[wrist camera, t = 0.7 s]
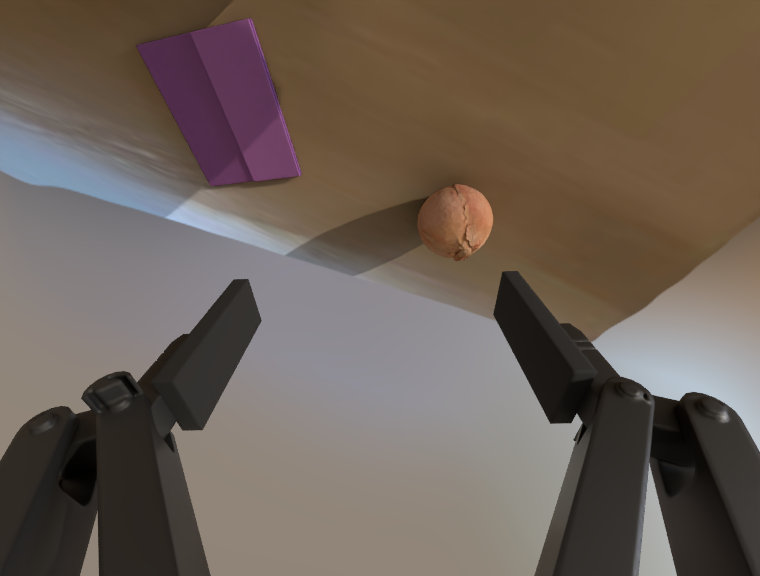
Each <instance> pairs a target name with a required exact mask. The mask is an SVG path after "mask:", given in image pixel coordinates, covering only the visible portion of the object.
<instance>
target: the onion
mask: <svg viewBox="0 0 760 576" xmlns="http://www.w3.org/2000/svg"><path fill="white" fill-rule="evenodd" d="M418 214H419V215H418V217H417V218H418V222H417V223H418V233H419V235H420V237H421V239H422V241H423V243H424V244H425V245H426V246H427V248H428V249H429V250H431V251H432V252H434V253H435V254H437V255H440V256H442V257H446V258H454V260H455V261H460V260H462V259H463V260H465V258H468V256H470V255H471V254H472V253H474V252H475V251H477V250H478V249H479V248H480V247H481V246H482V245H483V244H484V243H485V241H486V240H487V238H488V236H489V234H490V231H491V228H492V224H493V215H492V210H491V207H490V205H489V203H488V201H487V200H486V198H485V197H484V196H483V195H482V194H481V193H480V192H478V191H477V190H475V189H473V188H471V187H470V186H465V185H459V184H453V185H452V186H447V187H444V188H441V189H440V190H438V191H436V192H435V193H433V194H432V195H431V196H430V197H429V198H428V199H427V200H426V201H425V202H424V204H423V205H422V207H421V209H420V212H419V213H418Z"/></svg>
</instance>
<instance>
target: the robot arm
mask: <svg viewBox="0 0 760 576" xmlns="http://www.w3.org/2000/svg"><path fill="white" fill-rule="evenodd" d="M493 315H494V317H495V319H496V320H497V322H498V324H499V326H500V328H501V330H502V332H503V334H504V336H505V338H506V340H507V341H508V343H509V345H510V347H511V349H512V351H513V353H514V355H515V356H516V358H517V361H518V362H519V364H520V366H521V368H522V370H523V372H524V374H525V376H526V378H527V380H528V381H529V383H530V385H531V387H532V389H533V391H534V393H535V395H536V397H537V399H538V401H539V403H540V404H541V406H542V408H543V410H544V412H545V414H546V416H547V418H548V420H549V422H550V423H551V424H552V423H572V421H573V419H574V417H575V415H576V413H577V414H578V415H579V417H580V419H581V420H582V422H583V423H582V425H581V427H580V429H579V431H578V432H577V434H576V436H575V438H574V441H576V443H575V446H574V449H573V452H572V455H571V459H570V462H569V465H568V468H567V472H566V475H565V478H564V481H563V485H562V488H561V491H560V494H559V498H558V501H557V504H556V507H555V511H554V514H553V517H552V520H551V524H550V527H549V530H548V533H547V537H546V540H545V543H544V546H543V550H542V553H541V557H540V560H539V563H538V566H537V569H536V572H535V576H638V575H639V564H640V553H641V543H642V532H643V521H644V512H645V500H646V491H647V480H648V469H649V463H650V467H651V471H652V475H653V479H654V483H655V487H656V491H657V495H658V499H659V504H660V507H661V511H662V516H663V520H664V523H665V527H666V532H667V536H668V540H669V544H670V548H671V552H672V556H673V560H674V565H675V569H676V573H677V576H760V452H759V450H758V448H757V446H756V445H755V443H754V441H753V439H752V437H751V435H750V434H749V432H748V430H747V428H746V427H745V425H744V423H743V421H742V419H741V418H740V417H739V416H738V414H737V413H736V412H735V411H734V410H733V409H732V408H730V407H729V406H728V405H726V404H725V403H723V402H721V401H720V400H718V399H716V398H714V397H711V396H709V395H706V394H703V393H696V392H691V393H686V394H685V395H684V396H683V397H682V398H681V400H680V401H677V400H672V399H668V398H663V397H658V396H654V395H651V394H650V392H649V391H648V390H647V389H646V388H644V387H643V386H642V385H641V384H639V383H637V382H635V381H633V380H630V379H627V378H624V377H620V376H619V375H618V373H617V372H616V371H615V370H614V369H613V368H612V366H611V365H610V364H609V363H608V362H607V361H606V360H605V358H604V357H603V356H602V355H601V354H600V353H599V351H598V350H596V349H595V347H594V346H593V344H592V343H591V342H589V340H588V339H587V338H586V336H585V335H584V334H583V333H582V332H581V331H580V330H578V329H577V328H575V327H574V326H572V325H571V324H569V323H566V324H559V322H558V321H557V320H556V319H555V317H554V316H553V315H552V314H551V312H550V311H549V310H548V309H547V307H546V306H545V305H544V304H543V302H542V301H541V300H540V299H539V297H538V296H537V295H536V294H535V292H534V291H533V290H532V289H531V287H530V286H529V285H528V284H527V282H526V281H525V280H524V279H523V277H522V276H521V275H520V273H519V272H518V271H505V272H502V276H501V281H500V286H499V290H498V295H497V300H496V305H495V309H494V314H493ZM260 323H261V317H260V314H259V311H258V308H257V305H256V302H255V299H254V296H253V292H252V289H251V286H250V283H249V280H248V279H236V280H233V281H232V282H231V284H230V285H229V286H228V287H227V288H226V290H225V291H224V292H223V293H222V295H221V296H220V297H219V298H218V299H217V301H216V302H215V303H214V304H213V306H212V307H211V308H210V309H209V310H208V312H207V313H206V314H205V315H204V317H203V318H202V319H201V320H200V322H199V323H198V324H197V325H196V326H195V328H194V329H193V330H192V331H191V332H190V334H183V335H182V336H180V337H179V338H177V339H176V340H174V341H173V342H172V343H171V344H170V345H169V346H168V347H167V348H166V350H165V351H164V353H162V354H161V355H160V356H159V358H158V359H157V361H155V362H154V363H153V365H152V366H151V367H150V368H149V369H148V370H147V372H146V373H145V374H144V375H143V376H142V377H141V379H140V380H139V381H138V382H136V381H135V380H134V378H133V377H132V375H131V374H130V373H128V372H125V371H122V372H115V373H112V374H109V375H106V376H104V377H102V378H100V379H98V380H97V381H95V382H94V383H93V384H92V385H90V386H89V387H88V388H87V389H86V390H85V391H84V393H83V395H82V398H81V399H82V400H83V401H84V402H85V403H86V404H87V405H88V406H89V407H90V409H91V410H90V411H86V412H82V413H79V414H74V413H73V412H72V411H71V409H70V408H69V407H65V406H59V407H55V408H51V409H49V410H47V411H44V412H42V413H40V414H38V415H36V416H35V417H33V418H32V419H30V420H29V421H28V422H27V423H26V424H24V425H23V426H22V427H21V428H20V430H19V431H18V432H17V434H16V435H15V437H14V439H13V440H12V442H11V444H10V445H9V447H8V449H7V450H6V452H5V454H4V456H3V457H2V459H1V461H0V576H80V573H81V569H82V566H83V562H84V558H85V554H86V551H87V547H88V544H89V540H90V536H91V533H92V529H93V525H94V521H95V518H96V514H97V511H98V545H99V576H210V572H209V568H208V564H207V560H206V557H205V553H204V549H203V545H202V541H201V538H200V533H199V530H198V526H197V522H196V518H195V514H194V510H193V507H192V503H191V499H190V495H189V492H188V488H187V484H186V480H185V476H184V472H183V468H182V464H181V461H180V457H179V453H178V449H177V445H176V441H175V438H174V435H173V433H172V432H171V429H172V427H173V426H174V424H175V422H176V421H177V423H178V424H179V426H180V427H181V429H182V430H203V428H204V426H205V424H206V423H207V421H208V419H209V417H210V415H211V413H212V412H213V410H214V408H215V406H216V404H217V402H218V400H219V399H220V396H221V395H222V393H223V391H224V389H225V387H226V386H227V384H228V382H229V380H230V378H231V376H232V374H233V373H234V371H235V369H236V367H237V365H238V363H239V362H240V359H241V358H242V356H243V354H244V352H245V350H246V348H247V347H248V345H249V343H250V341H251V339H252V337H253V335H254V334H255V332H256V330H257V328H258V326H259V324H260Z"/></svg>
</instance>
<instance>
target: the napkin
mask: <svg viewBox="0 0 760 576" xmlns="http://www.w3.org/2000/svg"><path fill="white" fill-rule="evenodd" d="M136 47H137V49H138V51H139V53H140V54H141V56H142V58H143V60H144V62H145V64H146V66H147V68H148V69H149V71H150V73H151V75H152V77H153V79H154V81H155V83H156V84H157V86H158V88H159V90H160V92H161V94H162V96H163V98H164V99H165V101H166V103H167V105H168V107H169V109H170V111H171V113H172V115H173V116H174V118H175V120H176V122H177V124H178V126H179V128H180V130H181V131H182V133H183V135H184V137H185V139H186V141H187V143H188V145H189V146H190V148H191V150H192V152H193V154H194V156H195V158H196V160H197V161H198V163H199V165H200V167H201V169H202V171H203V173H204V175H205V177H206V178H207V180H208V182H209V184H210V186H217V185H225V184H233V183H241V182H249V181H254V182H255V181H263V180H271V179H279V178H287V177H295V176H300V175H301V174H302V173H301V170H300V167H299V164H298V161H297V158H296V155H295V152H294V148H293V145H292V142H291V139H290V136H289V133H288V130H287V127H286V124H285V121H284V117H283V114H282V111H281V108H280V105H279V102H278V99H277V96H276V93H275V90H274V86H273V83H272V80H271V77H270V74H269V71H268V68H267V65H266V62H265V58H264V55H263V52H262V49H261V46H260V43H259V40H258V37H257V34H256V31H255V27H254V24H253V21H252V19H244V20H240V21H235V22H231V23H227V24H223V25H218V26H214V27H210V28H206V29H201V30H197V31H193V32H190V33H186V34H182V35H177V36H173V37H169V38H165V39H160V40H156V41H152V42H147V43H143V44H139V45H136Z"/></svg>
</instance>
